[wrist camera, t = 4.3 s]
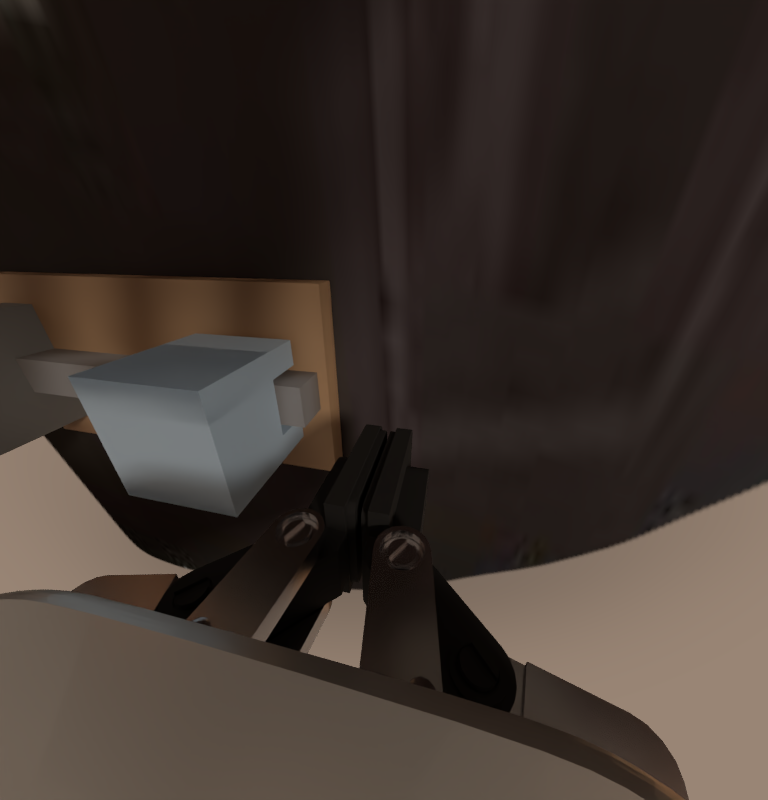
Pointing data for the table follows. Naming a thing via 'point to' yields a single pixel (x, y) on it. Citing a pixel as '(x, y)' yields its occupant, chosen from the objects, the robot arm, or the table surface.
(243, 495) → the grey slider block
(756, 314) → the table surface
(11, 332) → the dark grey slab
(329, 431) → the rail board
